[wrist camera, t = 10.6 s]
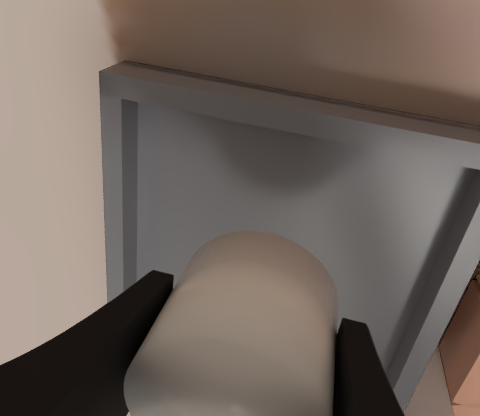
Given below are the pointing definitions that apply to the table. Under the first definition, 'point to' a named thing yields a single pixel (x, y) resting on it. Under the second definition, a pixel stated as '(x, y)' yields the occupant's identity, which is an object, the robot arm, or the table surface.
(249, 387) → the white rounded piece
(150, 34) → the table surface
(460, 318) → the bowl
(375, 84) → the table surface
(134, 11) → the table surface
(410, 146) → the parts tray
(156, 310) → the robot arm
